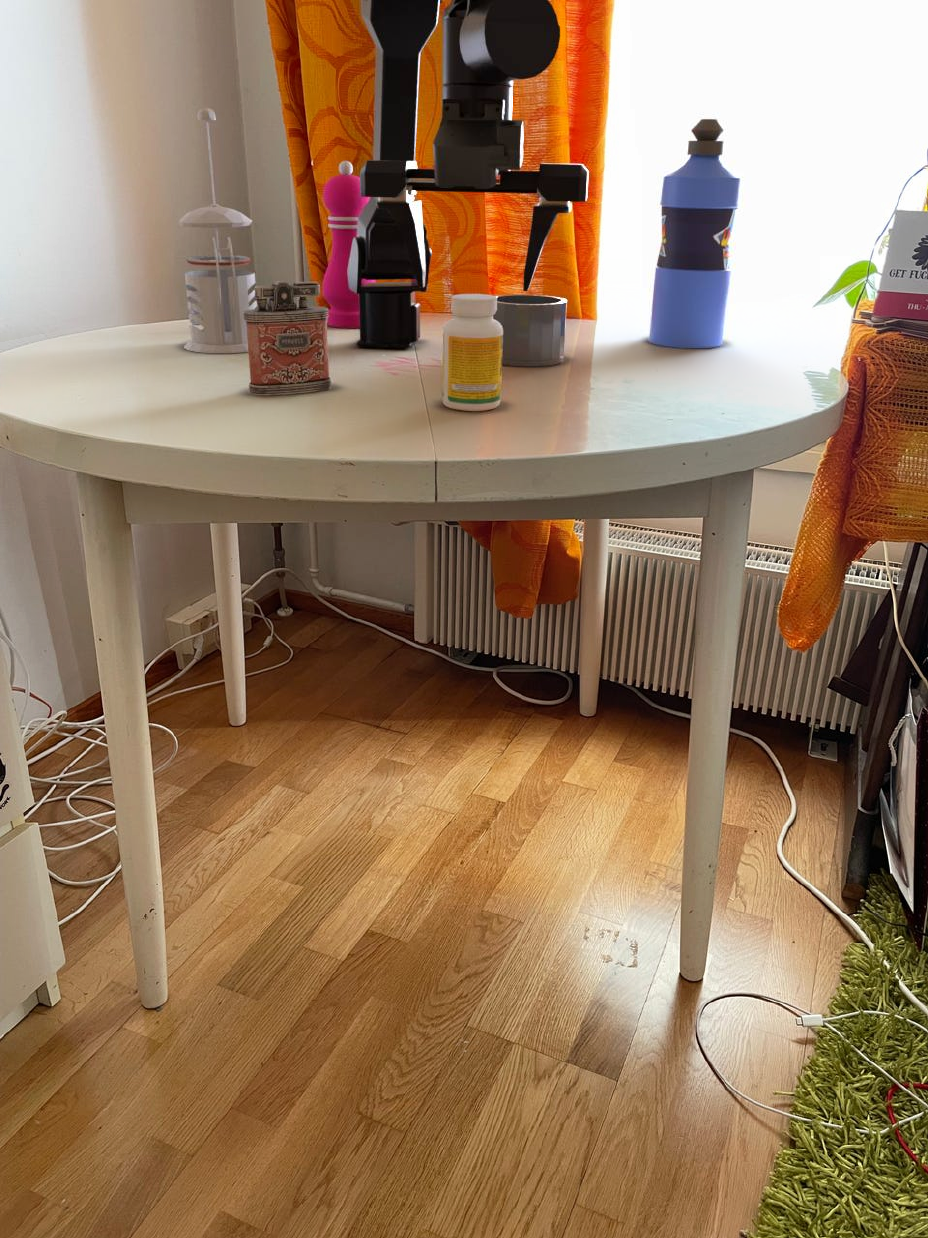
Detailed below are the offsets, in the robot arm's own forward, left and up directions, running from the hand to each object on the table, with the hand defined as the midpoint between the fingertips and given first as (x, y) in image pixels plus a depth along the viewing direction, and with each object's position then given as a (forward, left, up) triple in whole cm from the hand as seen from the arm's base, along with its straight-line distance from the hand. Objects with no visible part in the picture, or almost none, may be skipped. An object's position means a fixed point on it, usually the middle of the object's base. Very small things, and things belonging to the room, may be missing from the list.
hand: (473, 288), depth 87 cm
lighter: (-18, +3, -10) cm, 21 cm away
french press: (-32, +24, -10) cm, 41 cm away
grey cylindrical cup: (+3, +24, -10) cm, 26 cm away
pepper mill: (-22, +44, -10) cm, 50 cm away
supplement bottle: (0, 0, -10) cm, 10 cm away
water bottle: (+22, +40, -10) cm, 47 cm away
